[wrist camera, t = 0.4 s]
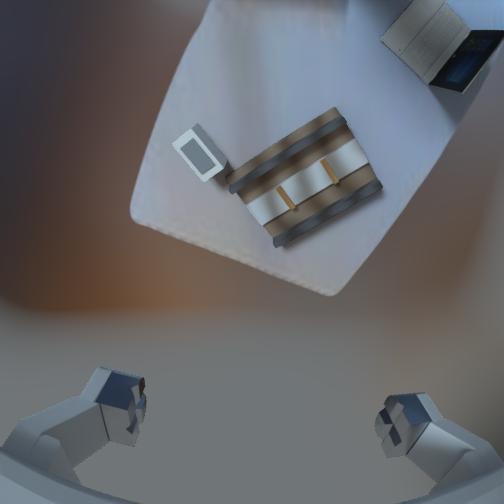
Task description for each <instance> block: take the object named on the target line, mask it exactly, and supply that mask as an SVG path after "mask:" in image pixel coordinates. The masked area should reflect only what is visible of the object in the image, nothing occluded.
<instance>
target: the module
mask: <svg viewBox="0 0 504 504" xmlns="http://www.w3.org/2000/svg"><path fill="white" fill-rule="evenodd" d="M172 145H173V147H174V148H175V149H176V150H177V151H178V152H179V154H180V155H181V156H182V157H183V158H184V159H185V161H186V162H187V163H188V164H189V165H190V167H191V168H192V169H193V170H194V171H195V172H196V174H197V175H198V176H199V177H200V178H201V180H202V181H203V182H205V181H207V180H208V179H210V178H211V177H212V176H214V175H215V174H217V173H218V172H219V171H221V170H222V169H224V167H225V165H226V162H227V159H226V157H225V156H224V155H223V154H222V152H221V151H220V150H219V149H218V148H217V146H216V145H215V144H214V143H213V141H212V140H211V139H210V138H209V136H208V135H207V134H206V133H205V132H204V130H203V129H202V128H201V127H200V126H199V124H198V123H197V124H196V125H194V126H193V127H192V128H191V129H189V130H188V131H187V132H186V133H184V134H183V135H182V136H181V137H179V138H178V139H177V140H176V141H175V142H174V143H172Z"/></svg>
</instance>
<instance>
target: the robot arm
mask: <svg viewBox="0 0 504 504" xmlns="http://www.w3.org/2000/svg"><path fill="white" fill-rule="evenodd" d="M144 388H145V380H144V378H143V377H140V376H136V375H132V374H128V373H125V372H121V371H117V370H112V369H108V368H105V367H101V366H100V367H98V368H97V369H96V371H95V373H94V374H93V376H92V377H91V379H90V380H89V382H88V384H87V385H86V387H85V389H84V390H83V392H82V394H81V395H80V397H76V396H75V397H73V398H70V399H68V400H66V401H64V402H61V403H59V404H57V405H54V406H52V407H50V408H48V409H45V410H43V411H41V412H38V413H36V414H34V415H31V416H29V417H27V418H24V419H22V420H20V421H18V423H17V424H16V426H15V427H14V429H13V430H12V432H11V433H10V435H9V436H8V438H7V439H6V441H5V443H4V444H3V445H2V447H0V504H141V503H137V502H133V501H129V500H126V499H122V498H119V497H115V496H112V495H109V494H105V493H102V492H99V491H96V490H93V489H90V488H87V487H85V486H82V485H81V482H80V480H79V478H78V477H77V475H76V473H75V471H74V470H73V468H74V467H75V466H77V465H78V464H80V463H81V462H83V461H84V460H85V459H87V458H88V457H90V456H91V455H92V454H94V453H95V452H97V451H98V450H99V449H101V448H102V447H103V446H105V445H106V444H108V443H109V441H112V442H116V443H120V444H124V445H128V446H132V447H134V446H135V444H136V441H137V438H138V435H139V426H138V425H139V424H140V423H142V422H143V420H144V416H145V412H146V402H147V401H146V396H145V394H144V393H143V391H144ZM384 405H385V408H384V409H383V410H381V411H380V412H379V413H378V415H377V417H376V421H375V431H376V433H377V435H378V437H380V438H381V439H383V442H382V444H381V445H382V448H383V450H384V452H385V455H386V457H387V458H391V457H398V456H404V455H406V457H408V458H409V459H410V460H411V461H412V462H413V463H414V464H415V465H417V466H418V467H419V468H420V469H421V470H422V471H424V472H425V473H426V474H427V475H428V476H429V477H430V478H432V479H433V480H434V481H435V482H436V483H437V484H436V486H434V487H433V488H432V489H431V491H430V492H429V495H425V496H422V497H419V498H415V499H412V500H408V501H404V502H400V503H396V504H504V464H503V463H502V461H501V460H500V458H499V456H498V455H497V453H496V452H495V450H494V449H493V447H492V446H491V444H490V443H488V442H487V441H485V440H483V439H481V438H479V437H477V436H476V435H474V434H472V433H470V432H469V431H467V430H465V429H463V428H462V427H460V426H458V425H456V424H455V423H453V422H451V421H450V420H448V419H443V417H442V416H441V414H440V413H439V411H438V410H437V408H436V407H435V405H434V403H433V402H432V400H431V399H430V397H429V396H428V394H426V393H425V392H418V393H412V394H411V393H410V394H399V395H390V396H388V397H387V399H386V400H385V402H384Z"/></svg>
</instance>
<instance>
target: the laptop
mask: <svg viewBox="0 0 504 504" xmlns="http://www.w3.org/2000/svg"><path fill="white" fill-rule="evenodd" d="M380 40H381V41H382V42H383V43H384V44H385V45H386V46H387V47H388V48H389V49H390V50H392V51H393V52H394V53H395V54H396V55H397V56H398V57H399V58H400V59H401V60H402V61H403V62H404V63H405V64H406V65H407V66H408V67H409V68H410V69H411V70H412V71H413V72H414V73H415V74H416V75H417V76H418V77H419V78H420V79H421V80H422V81H423V82H424V83H425V84H426V85H427V84H428V86H431V87H435V88H440V89H444V90H448V91H452V92H455V93H459V94H464V92H465V91H466V90H467V89H468V87H469V86H470V85H471V83H472V82H473V81H474V79H475V78H476V77H477V76H478V74H479V73H480V72H481V70H482V69H483V68H484V66H485V65H486V64H487V62H488V61H489V59H490V58H491V57H492V55H493V54H494V53H495V51H496V50H497V48H498V47H499V46H500V44H501V43H502V41H503V40H504V30H470V29H469V27H468V26H467V25H466V24H465V23H464V22H463V20H462V19H461V18H460V17H459V16H458V15H457V14H456V13H455V12H454V10H453V9H452V8H451V7H450V6H449V5H448V4H447V3H446V2H445V1H444V0H414V1H413V2H412V3H411V4H410V5H409V6H408V8H407V9H406V10H405V11H404V12H403V13H402V14H401V16H400V17H399V18H398V19H397V20H396V21H395V22H394V24H393V25H392V26H391V27H390V28H389V29H388V31H387V32H386V33H385V34H384V35H383V36H382V38H381V39H380ZM450 56H451V57H450ZM446 61H447V62H446ZM429 82H430V83H429Z"/></svg>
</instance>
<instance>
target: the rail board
mask: <svg viewBox="0 0 504 504" xmlns="http://www.w3.org/2000/svg"><path fill="white" fill-rule="evenodd" d="M346 123H347V121H346V120H345V118H344V117H343V116H341V115H340V113H339V111H338V110H337V108H336V107H333V108H332V109H330V110H328V111H327V112H325V113H323V114H322V115H320V116H318V117H317V118H315V119H313V120H312V121H310V122H309V123H307V124H305V125H304V126H302V127H300V128H299V129H297V130H296V131H294V132H292V133H291V134H289V135H288V136H286V137H285V138H283V139H282V140H280V141H278V142H277V143H275V144H274V145H272V146H271V147H269V148H268V149H266V150H265V151H263V152H262V153H260V154H259V155H257V156H256V157H254V158H253V159H251V160H250V161H248V162H247V163H245V164H244V165H242V166H241V167H239V168H238V169H236V170H235V171H234V172H232V173H231V174H229V175H228V176H226V181H227V182H228V183H229V184H230V188H229V192H230V193H231V194H234V193H235V192H236V193H237V194H238V195H239V196H240V198H241V199H242V200H243V201H244V203H245V204H246V207H247V208H248V210H249V211H250V212H251V213H252V215H253V216H254V217H255V218H256V220H257V221H258V222H259V223H260V224H261V226H262V225H263V226H264V227H265V228H266V230H267V231H268V232H269V233H270V235H271V236H272V237H273V245H274V246H275V248H277V247H279V246H282V245H284V244H285V243H287V242H289V241H291V240H292V239H294V238H296V237H298V236H299V235H301V234H303V233H305V232H306V231H308V230H310V229H312V228H314V227H315V226H317V225H319V224H321V223H322V222H324V221H326V220H328V219H329V218H331V217H333V216H335V215H336V214H338V213H340V212H342V211H343V210H345V209H347V208H349V207H350V206H352V205H354V204H356V203H357V202H359V201H361V200H363V199H364V198H366V197H368V196H370V195H371V194H373V193H375V192H377V191H378V190H380V189H382V188H383V186H382V184H381V182H380V181H379V180H378V179H377V177H376V175H375V173H374V172H373V170H372V168H371V166H370V164H369V161H368V160H367V158H366V156H365V154H364V152H363V151H362V149H361V147H360V145H359V144H358V142H357V140H356V139H355V138H354V136H353V134H352V133H351V131H350V129H349V128H348V126H347V124H346Z"/></svg>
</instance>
